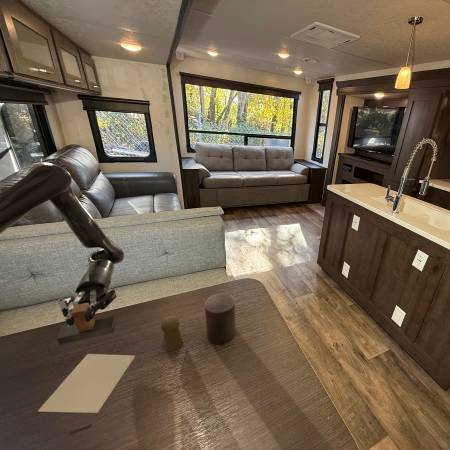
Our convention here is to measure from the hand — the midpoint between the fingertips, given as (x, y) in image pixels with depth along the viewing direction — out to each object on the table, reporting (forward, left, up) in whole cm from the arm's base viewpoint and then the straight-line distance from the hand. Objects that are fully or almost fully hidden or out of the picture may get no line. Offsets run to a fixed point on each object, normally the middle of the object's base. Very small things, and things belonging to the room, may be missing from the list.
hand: (78, 320), depth 65 cm
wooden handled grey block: (-2, +3, -8) cm, 9 cm away
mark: (+8, -15, -17) cm, 25 cm away
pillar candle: (+33, +15, -18) cm, 40 cm away
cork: (+19, +9, -18) cm, 27 cm away
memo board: (+3, -4, -18) cm, 19 cm away
